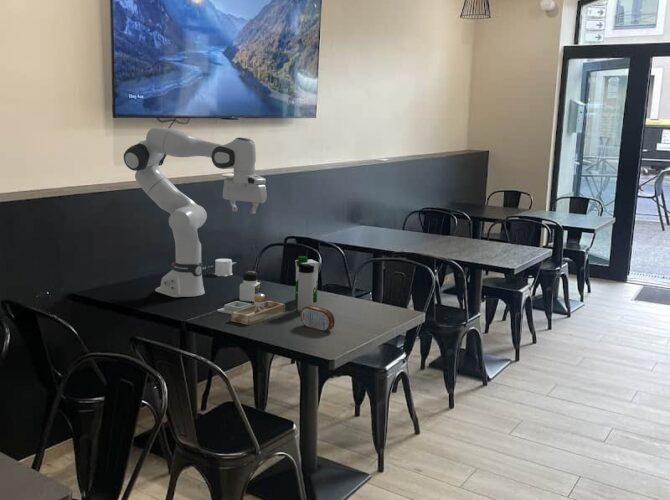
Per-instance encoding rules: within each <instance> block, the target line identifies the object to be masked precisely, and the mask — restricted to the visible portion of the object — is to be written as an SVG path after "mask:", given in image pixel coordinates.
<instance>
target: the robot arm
mask: <svg viewBox="0 0 670 500" xmlns="http://www.w3.org/2000/svg"><path fill="white" fill-rule="evenodd" d="M145 136H146V137H145V139H144V140H141V141H139V142H138V143H136V144H133V145H132V146H129V147H128V148H127V149H126V150H125V151H124V153H123V162H124V164H125V166H126V167H127V168H128V169H129V170H132V171H135V174H134V180H135V181H136V182H137V183H138V185H139V186H140V188H141V189H142V190H143V192H144V193H145V194H146V195H147V196H148V197H149V198H150V199H151V201H153V202H154V203H155V204H156V205H157V206H158V207H159V208H160V209H161V210H162V211H165V212H167V213H169V214H170V216H169V217H168V225H169V227H170V228H171V230H172V234H173V239H174V243H175V261H174V262H171V263H170V264H171V265H170V266H171V267H172V269H171V270H170V271H168V273H166V274H165V275H164V276H163V277H162V278H161V279H160V280H161V281H160V286H159V287H156V288H155V289H154V290H155V291H154V292H156V293H159V294H163V295H165V296H169V297H172V298H181V297H182V298H183V297H184V298H185V297H187V298H188V297H189V298H190V297H198V296H202V295H204V294H206V292H205V288H204V281H203V274H202V271H203V261H202V243H201V241H200V238H199V234H198V229H199V228H201V227H202V226H203V225H204V224H205V223H206V221H207V218H208V213H207V211H206V210H205V208H204V207H203V206H202V205H199V204H197V203H196V202H195V201H194V200H192V199H191V198H190V197H188V196H187V195H186V194H184V193H183V192H182V191H180V190H179V189H178V188H177V187H176V186H175V185H174V184H173V183H172V182H171V181H170V180H169V179H168V177H166V176H165V174H163V173H162V171H160V168H159V167H161V166H163V164H164V161H165V159H166V157H167V156H170V157H174V158H190V157H206V158H211V162H212V163H213V166H215V167H216V168H217V169H220V170H229V169H230V170H233V177H230V176H228V177H227V176H226V178H225V179H224V180H223V188H222V198H223V199H224V200H227V201H229V204H230V205H231V209H232V212H238V208H239V207H238V206H237V205H236V203H237V202H238V201H239V202H246V203H247V202H248V203H252V208H251V209H250V214H253V215H254V214H256V213H257V208H258V207H259V204H264V203H266V201H267V198H268V197H267V196H268V193H267V186H266V185H265V184H266V182H267V179H266V178H265V177H263V176H260V175H258V174H257V173H256V167H255V164H256V160H257V159H256V158H257V156H256V155H257V154H256V153H257V151H256V144H255V142H254V141H253V140H252V139H250V138H246V137H236V138H234V139H233V140H232V141H231V142H230V141H229V142H227V143H225V144H220V143H216V142H210V141H206V140H204V139H201V138H199V137H198V138H197V137H195V136H193V135H191V134H188V133H186V132H184V131H181V130H177V129H173V128H170V127H169V128H168V127H163V126H161V127H160V126H154V127H151V128H150V129H149V130H148V131H147V133H146V135H145Z"/></svg>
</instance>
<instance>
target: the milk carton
mask: <svg viewBox="0 0 670 500" xmlns="http://www.w3.org/2000/svg"><path fill="white" fill-rule="evenodd" d="M308 257H309V256H306V255H305V256H304V255H300V256H299V255H298V256H297V259H296V260H295V259H294V260H295V297H294V299H295V301H297V302H298V276H299V264H309V265H311V266H314V288H313V303H317V302H318V283H319V282H318V281H319V280H318V278H319V276H318V274H319V267H320V266H319V265H320V263H319V262H318V261H316V260H314V259H308Z"/></svg>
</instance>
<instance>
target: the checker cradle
mask: <svg viewBox="0 0 670 500" xmlns="http://www.w3.org/2000/svg"><path fill="white" fill-rule="evenodd" d="M252 305H253V303H249V302H246V301H240V300H235V301H232V302H229V303H226V304H224V305H223V306H224V307H222V308H219V309H217V310H216V312H219V313H224V314H229V315H231V312H234V311H237V310H240V309H243V308H246V307H249V306H252Z"/></svg>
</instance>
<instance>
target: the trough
mask: <svg viewBox="0 0 670 500" xmlns="http://www.w3.org/2000/svg"><path fill="white" fill-rule="evenodd" d="M284 313H286V304H285V303H281V302H278V301H277V302H276V301H271V300H265V307H264V310H263V311H261V312H258V313H255V314H254V304H252V306H249V307H246V308H243V309H240V310H237V311H234V312H231V314H230V315H231V316H230V318H231V322H235V323H239V324H243V325H248V326H251V325H255V324H257V323H260V322H262V321H263V322H264V321H265V320H267V319H268V320H269V319H271V318H274V317H276V316H277V317H278V316H279V315H281V314H284Z"/></svg>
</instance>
